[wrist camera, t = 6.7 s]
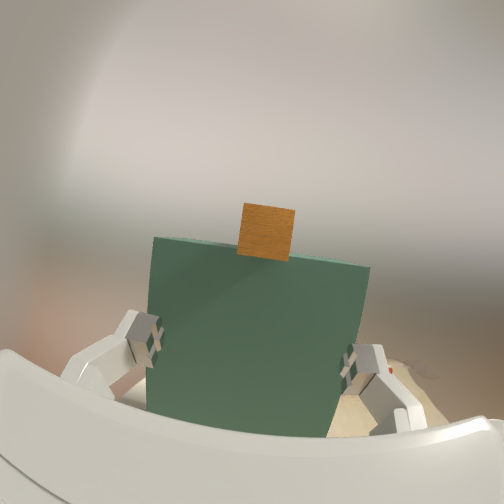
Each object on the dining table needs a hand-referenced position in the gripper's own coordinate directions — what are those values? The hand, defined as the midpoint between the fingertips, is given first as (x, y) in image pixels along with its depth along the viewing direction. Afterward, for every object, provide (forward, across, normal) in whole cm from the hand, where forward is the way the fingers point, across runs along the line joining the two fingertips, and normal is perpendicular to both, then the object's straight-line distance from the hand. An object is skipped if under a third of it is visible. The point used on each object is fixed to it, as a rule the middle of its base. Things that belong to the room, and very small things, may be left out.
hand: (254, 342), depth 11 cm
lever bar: (+15, 0, +5) cm, 16 cm away
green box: (+4, 0, +29) cm, 29 cm away
